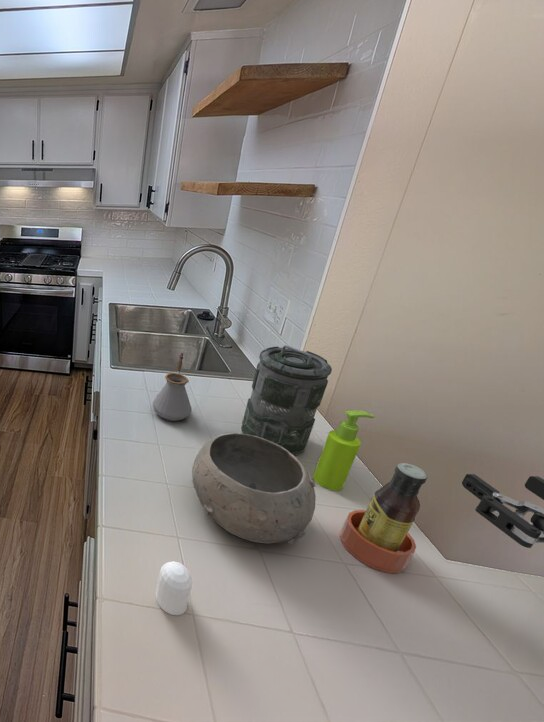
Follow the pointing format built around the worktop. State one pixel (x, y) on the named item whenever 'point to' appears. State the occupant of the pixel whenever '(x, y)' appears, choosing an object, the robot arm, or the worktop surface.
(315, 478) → the soap dispenser
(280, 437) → the canister
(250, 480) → the bowl
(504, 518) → the robot arm
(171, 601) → the capsule
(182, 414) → the coffee pot
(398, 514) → the sauce bottle
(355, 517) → the holder
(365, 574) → the worktop surface
